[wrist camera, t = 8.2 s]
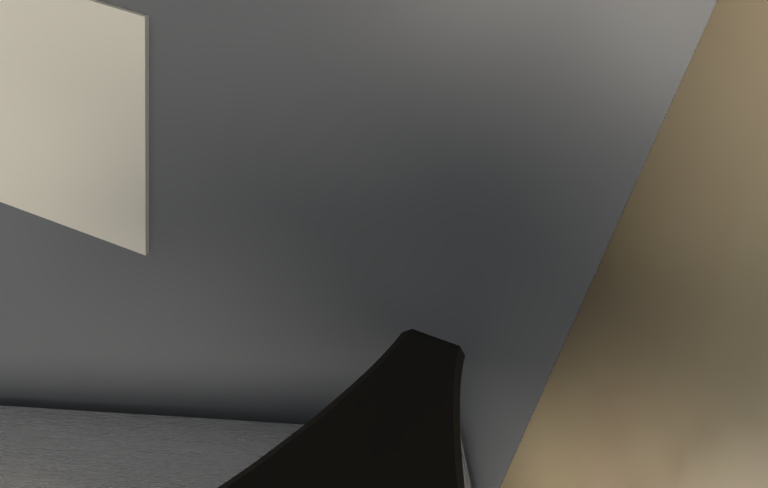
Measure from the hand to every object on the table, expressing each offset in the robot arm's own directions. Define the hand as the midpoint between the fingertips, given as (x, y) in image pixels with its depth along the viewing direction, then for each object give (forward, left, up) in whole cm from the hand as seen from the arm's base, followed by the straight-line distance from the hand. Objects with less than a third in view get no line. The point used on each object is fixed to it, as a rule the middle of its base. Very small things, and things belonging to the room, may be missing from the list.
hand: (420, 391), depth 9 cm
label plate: (-6, -2, -2) cm, 7 cm away
